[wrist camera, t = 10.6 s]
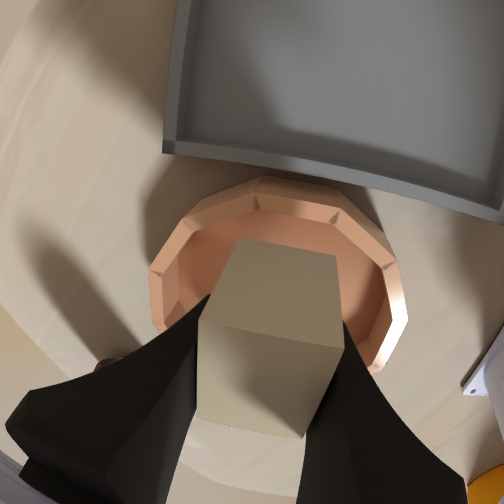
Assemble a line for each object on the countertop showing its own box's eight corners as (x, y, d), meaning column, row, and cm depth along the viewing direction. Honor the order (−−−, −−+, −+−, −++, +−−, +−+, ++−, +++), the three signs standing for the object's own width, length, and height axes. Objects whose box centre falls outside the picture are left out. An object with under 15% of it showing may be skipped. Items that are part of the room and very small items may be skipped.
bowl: (424, 209, 14) (443, 232, 12) (352, 382, 20) (354, 415, 17) (173, 161, 15) (146, 175, 13) (173, 346, 21) (157, 375, 19)
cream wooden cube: (240, 237, 11) (198, 319, 7) (336, 255, 10) (344, 348, 7) (229, 328, 13) (197, 418, 9) (309, 344, 12) (301, 439, 8)
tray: (519, -11, 7) (537, -17, 6) (488, 212, 13) (504, 225, 12) (211, -86, 9) (200, -101, 7) (177, 146, 15) (162, 153, 13)
